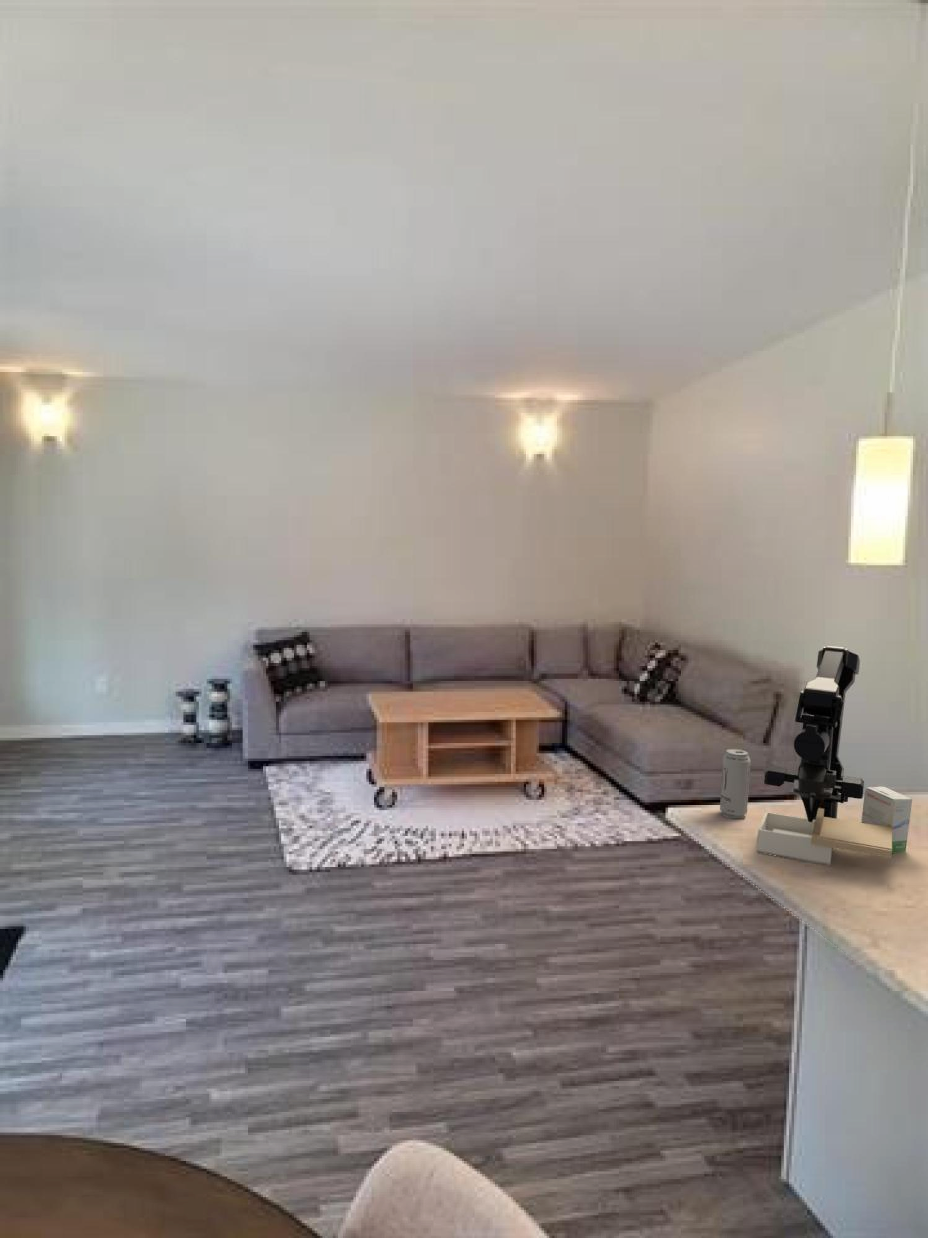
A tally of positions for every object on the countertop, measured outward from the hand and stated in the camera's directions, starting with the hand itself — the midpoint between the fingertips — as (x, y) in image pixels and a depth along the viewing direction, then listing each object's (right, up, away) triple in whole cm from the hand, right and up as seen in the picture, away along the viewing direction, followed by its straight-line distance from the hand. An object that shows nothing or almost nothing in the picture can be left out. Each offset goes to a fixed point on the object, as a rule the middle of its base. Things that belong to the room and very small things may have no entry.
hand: (810, 821), depth 181 cm
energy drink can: (-9, -4, +22) cm, 24 cm away
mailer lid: (+7, -3, -3) cm, 8 cm away
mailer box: (-2, -6, +2) cm, 7 cm away
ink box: (+17, -7, +5) cm, 19 cm away
